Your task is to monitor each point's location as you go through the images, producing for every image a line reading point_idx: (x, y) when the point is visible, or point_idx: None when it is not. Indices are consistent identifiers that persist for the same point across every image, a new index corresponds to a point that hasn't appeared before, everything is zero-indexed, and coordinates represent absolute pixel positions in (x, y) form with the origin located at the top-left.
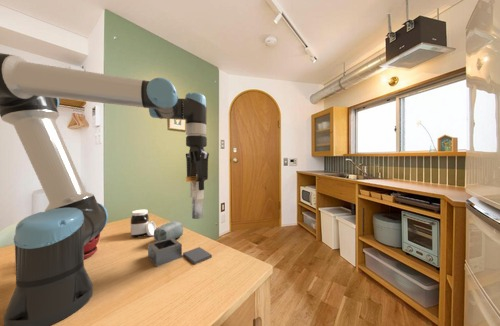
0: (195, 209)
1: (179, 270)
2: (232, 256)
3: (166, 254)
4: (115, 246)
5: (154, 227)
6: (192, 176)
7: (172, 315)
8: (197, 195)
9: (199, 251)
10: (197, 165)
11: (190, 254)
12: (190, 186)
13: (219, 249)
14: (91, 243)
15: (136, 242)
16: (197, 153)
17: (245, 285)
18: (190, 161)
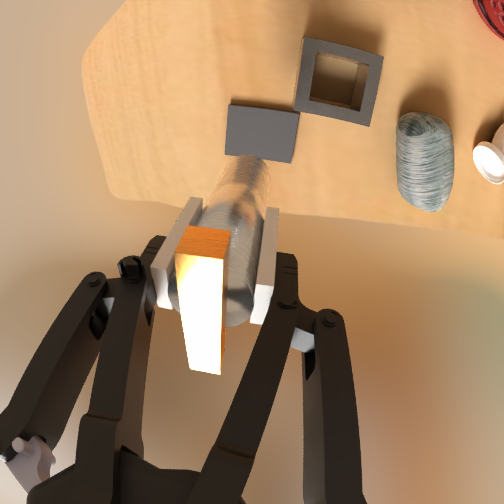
0: (224, 173)
1: (236, 67)
2: (192, 186)
3: (299, 64)
4: (491, 68)
5: (492, 177)
6: (218, 309)
7: (124, 14)
8: (183, 209)
9: (267, 146)
10: (93, 387)
11: (272, 120)
12: (272, 252)
13: None
14: (491, 7)
15: (474, 104)
16: (62, 499)
17: (100, 136)
18: (215, 464)
